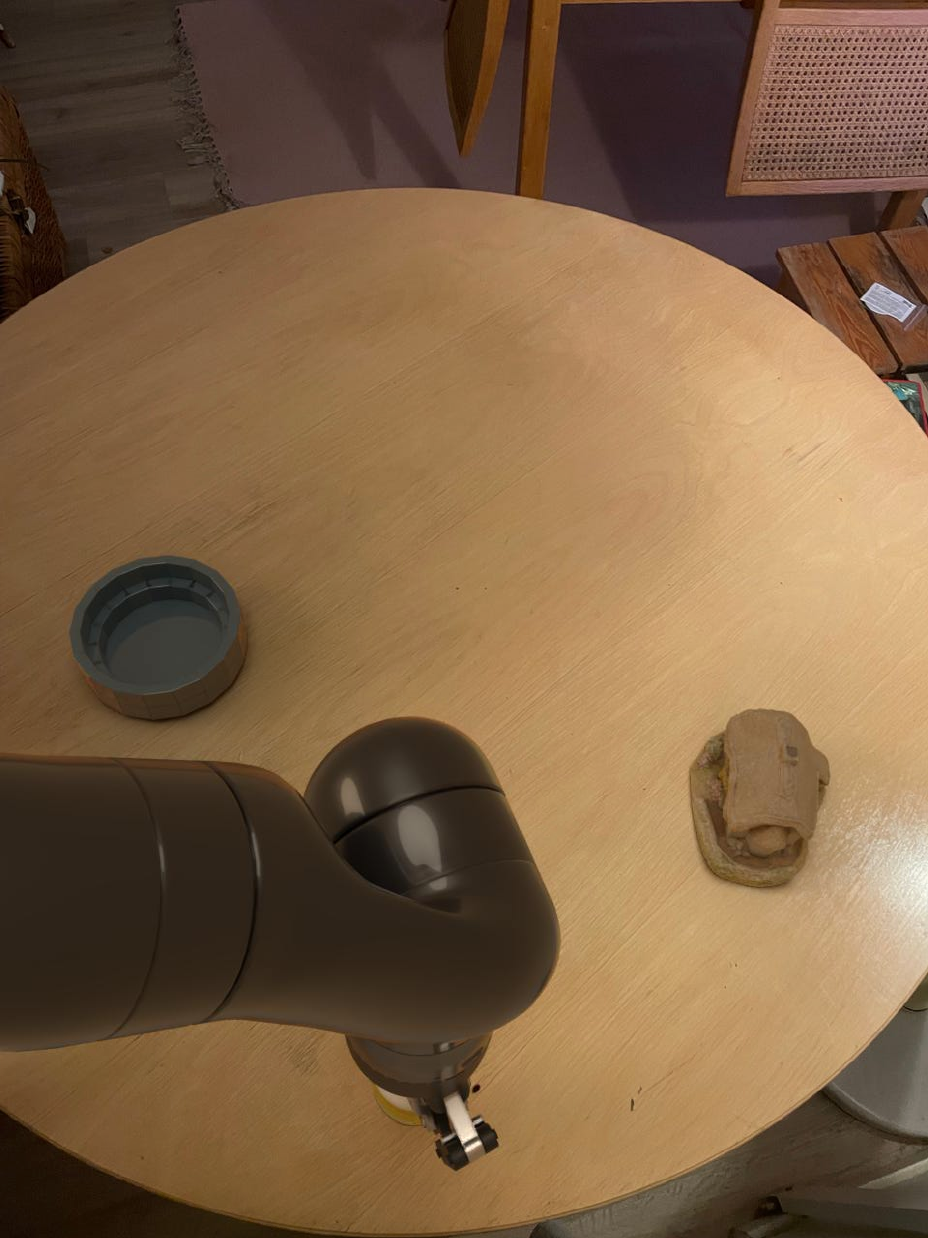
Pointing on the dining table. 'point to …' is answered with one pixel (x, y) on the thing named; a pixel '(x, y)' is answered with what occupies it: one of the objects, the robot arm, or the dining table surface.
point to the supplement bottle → (396, 1107)
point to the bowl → (159, 636)
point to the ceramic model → (758, 797)
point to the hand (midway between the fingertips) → (416, 1066)
